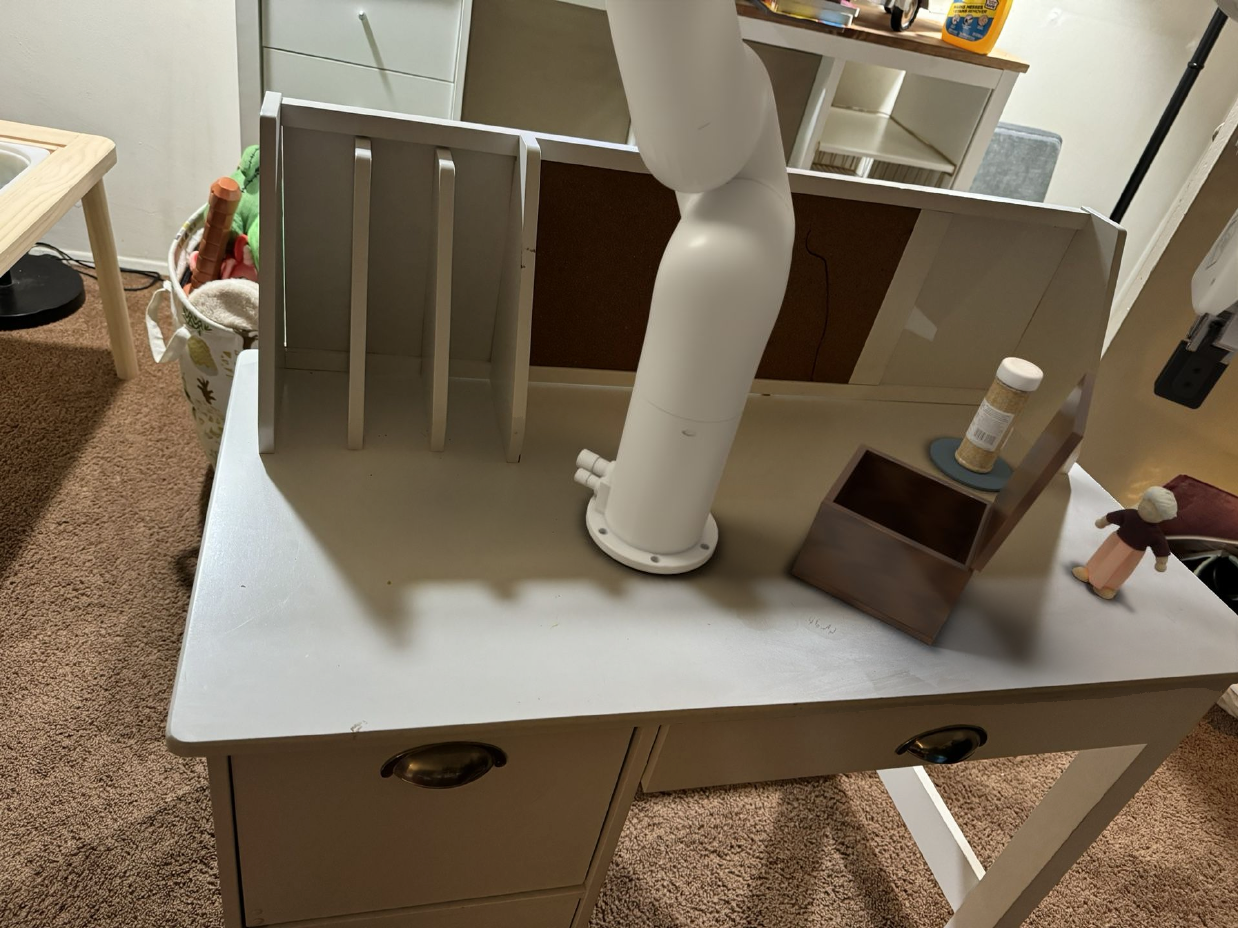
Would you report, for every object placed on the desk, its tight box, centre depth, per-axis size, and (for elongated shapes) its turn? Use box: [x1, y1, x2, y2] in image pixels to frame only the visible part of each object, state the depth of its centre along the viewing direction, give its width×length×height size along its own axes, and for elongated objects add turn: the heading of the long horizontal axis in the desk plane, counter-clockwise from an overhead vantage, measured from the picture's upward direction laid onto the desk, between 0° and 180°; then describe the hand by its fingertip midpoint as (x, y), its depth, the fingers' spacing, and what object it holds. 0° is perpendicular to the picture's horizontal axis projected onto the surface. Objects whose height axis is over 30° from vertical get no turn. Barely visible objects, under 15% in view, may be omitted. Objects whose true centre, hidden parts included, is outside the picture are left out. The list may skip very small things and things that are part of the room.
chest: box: [791, 442, 994, 646], centre depth 81 cm, size 14×13×9 cm
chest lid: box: [971, 371, 1097, 573], centre depth 72 cm, size 14×13×1 cm
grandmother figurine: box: [1071, 485, 1178, 600], centre depth 85 cm, size 8×4×13 cm, turn 40°
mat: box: [928, 437, 1013, 492], centre depth 104 cm, size 10×10×1 cm
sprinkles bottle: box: [955, 356, 1044, 473], centre depth 99 cm, size 5×5×14 cm
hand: (1174, 397), depth 64 cm, fingers closed
